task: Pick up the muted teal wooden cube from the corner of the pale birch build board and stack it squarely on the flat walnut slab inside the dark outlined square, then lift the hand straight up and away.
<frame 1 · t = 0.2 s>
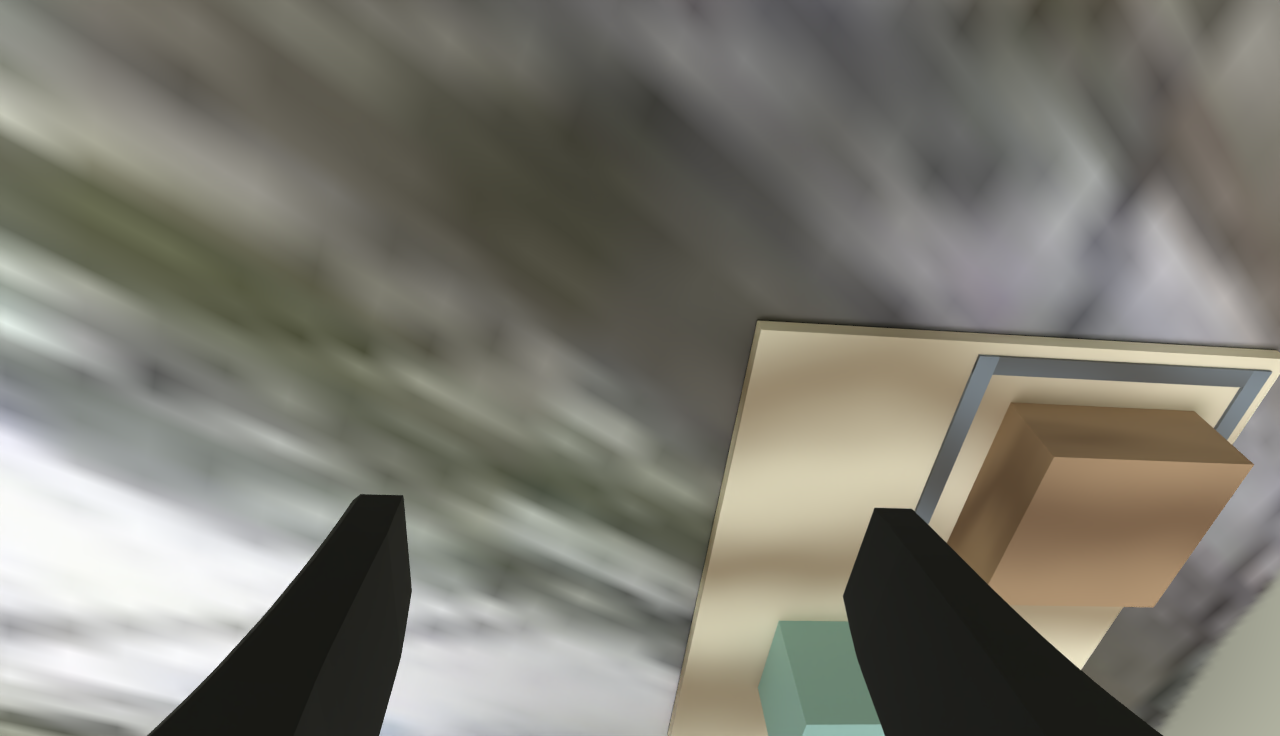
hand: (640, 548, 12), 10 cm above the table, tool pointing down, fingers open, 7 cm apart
teal block: (819, 655, 29), resting on build board
walnut slab: (1063, 481, 25), resting on build board
build board: (922, 574, 28), on the table
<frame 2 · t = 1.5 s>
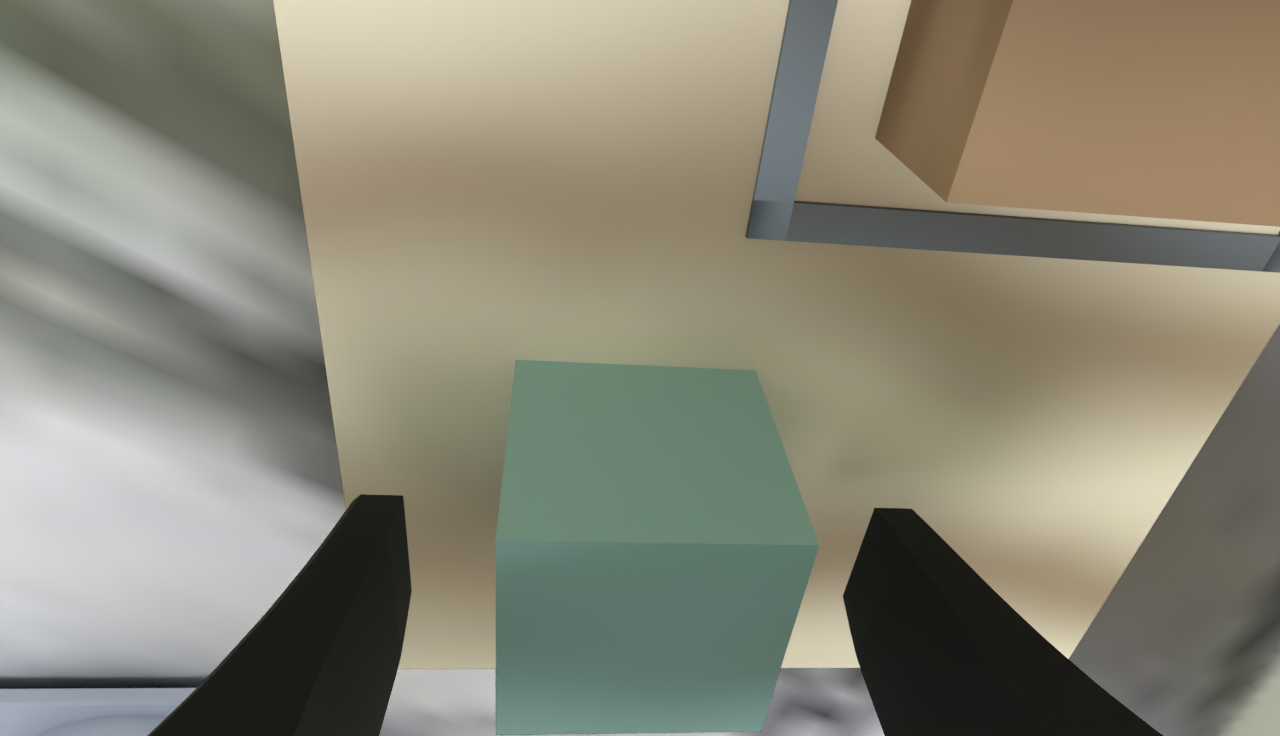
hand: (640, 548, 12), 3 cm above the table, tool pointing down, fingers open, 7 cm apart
teal block: (626, 458, 14), resting on build board
build board: (832, 252, 12), on the table
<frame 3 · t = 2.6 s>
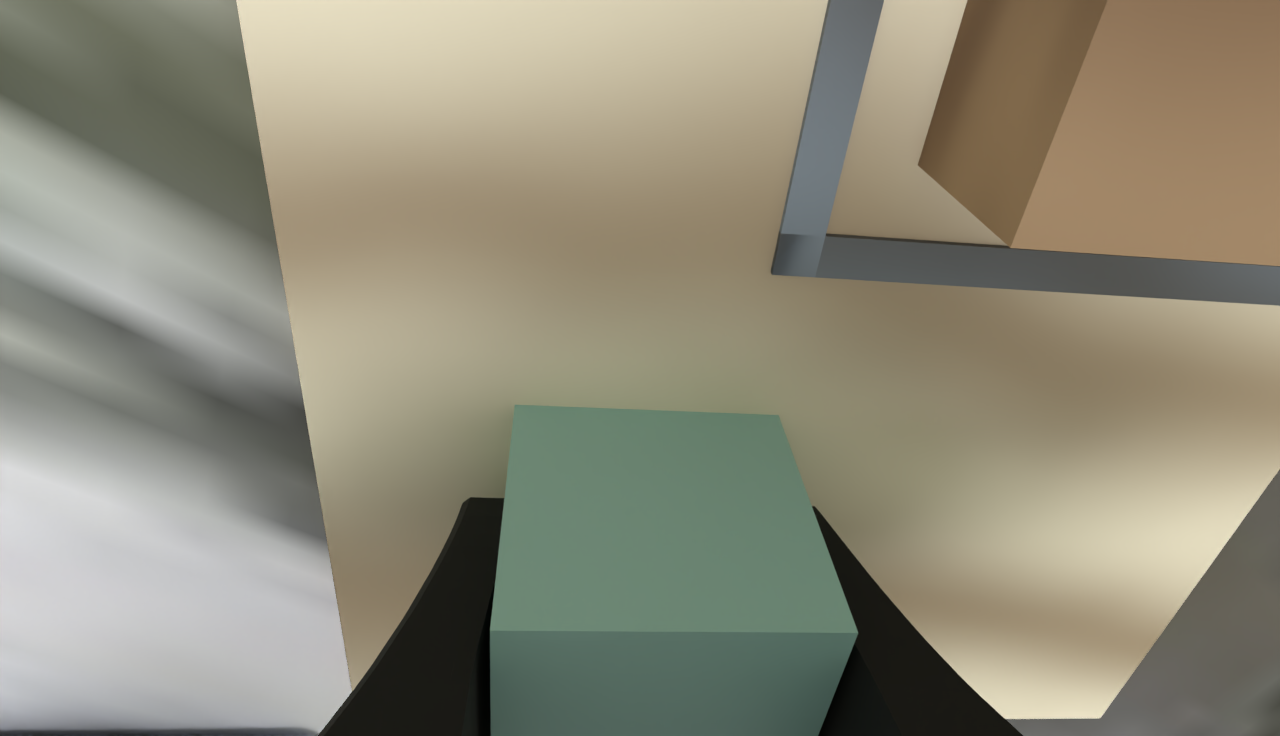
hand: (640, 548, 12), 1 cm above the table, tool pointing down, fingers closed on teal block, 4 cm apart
teal block: (636, 507, 13), resting on build board, touching gripper
build board: (864, 287, 11), on the table
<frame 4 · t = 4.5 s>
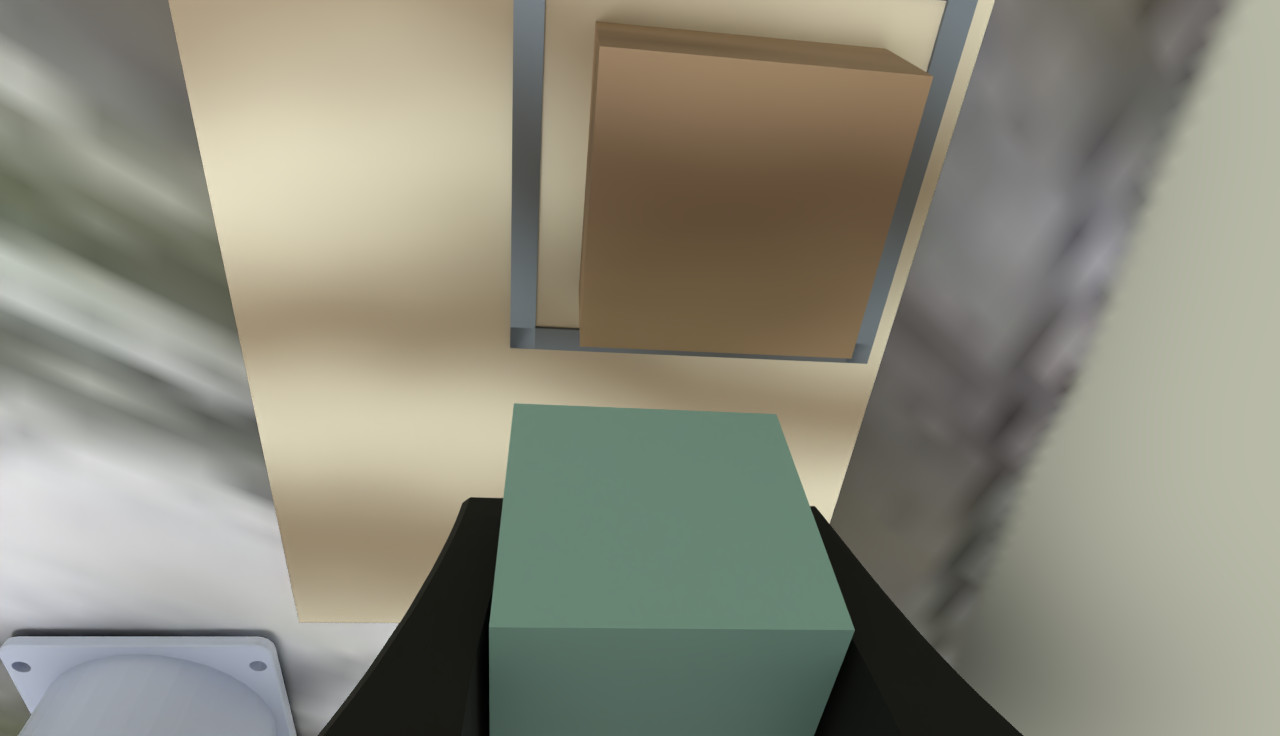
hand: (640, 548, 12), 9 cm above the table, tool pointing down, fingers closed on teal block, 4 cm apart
teal block: (634, 506, 13), point 8 cm above the table, touching gripper
walnut slab: (721, 179, 17), resting on build board
build board: (574, 351, 20), on the table
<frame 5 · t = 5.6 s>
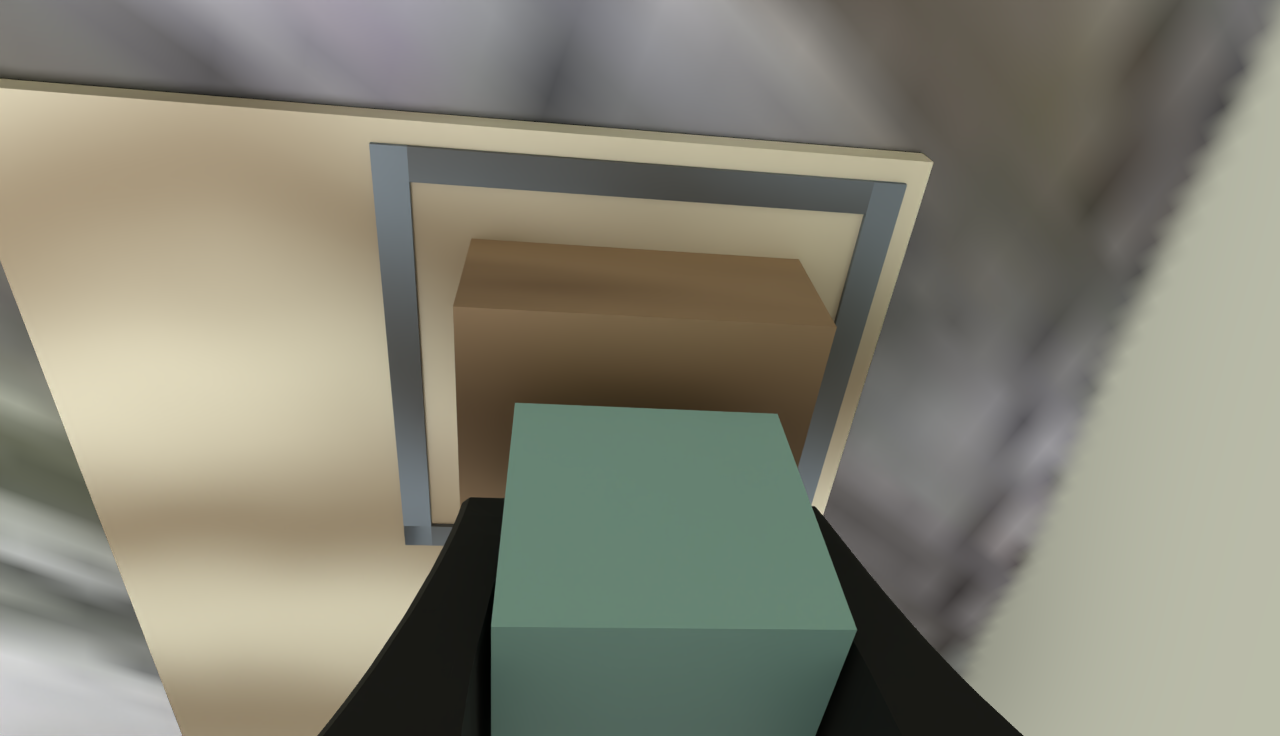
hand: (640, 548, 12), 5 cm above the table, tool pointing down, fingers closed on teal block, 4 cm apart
teal block: (635, 506, 13), point 4 cm above the table, touching gripper
walnut slab: (624, 384, 16), resting on build board
build board: (479, 539, 18), on the table
when the fingers open (5 cm above the table, at t = 6.4 s): teal block stays where it is, resting on walnut slab.
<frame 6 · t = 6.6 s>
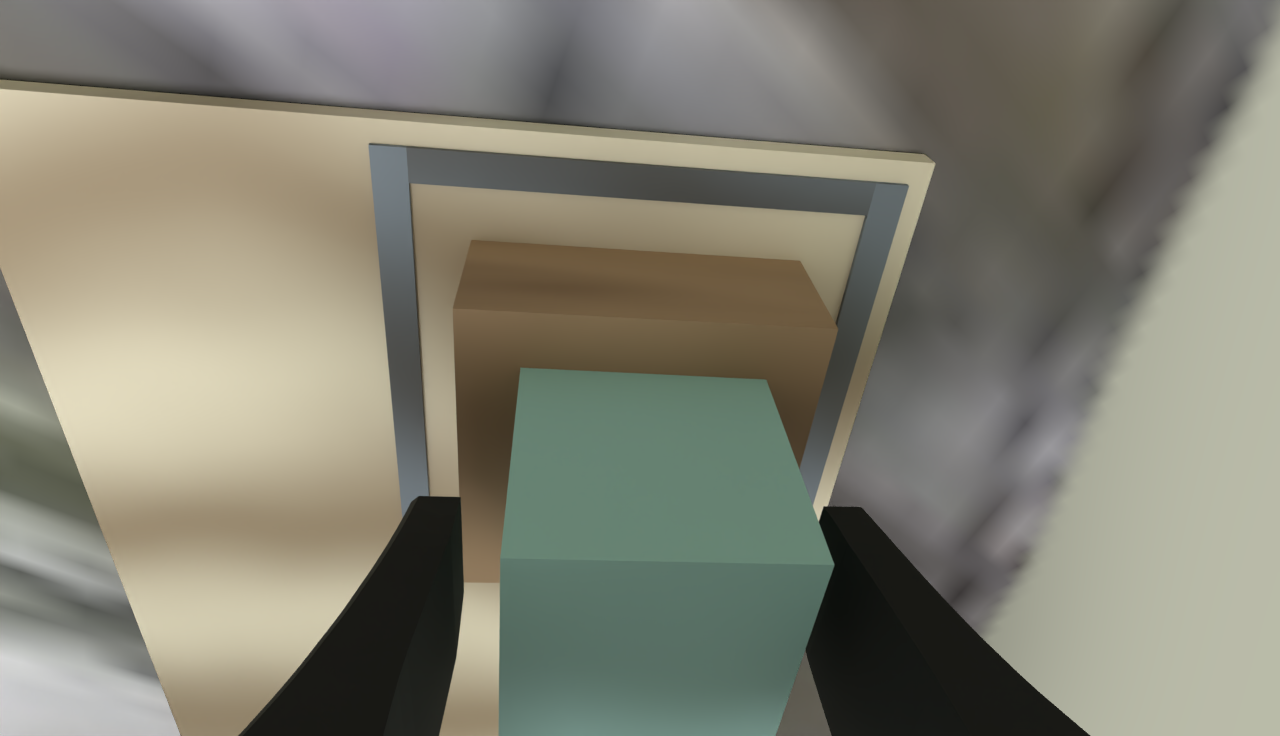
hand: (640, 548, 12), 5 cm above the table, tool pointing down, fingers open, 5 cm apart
teal block: (633, 468, 14), point 3 cm above the table, touching walnut slab
walnut slab: (624, 386, 16), resting on build board, touching teal block
build board: (479, 541, 18), on the table
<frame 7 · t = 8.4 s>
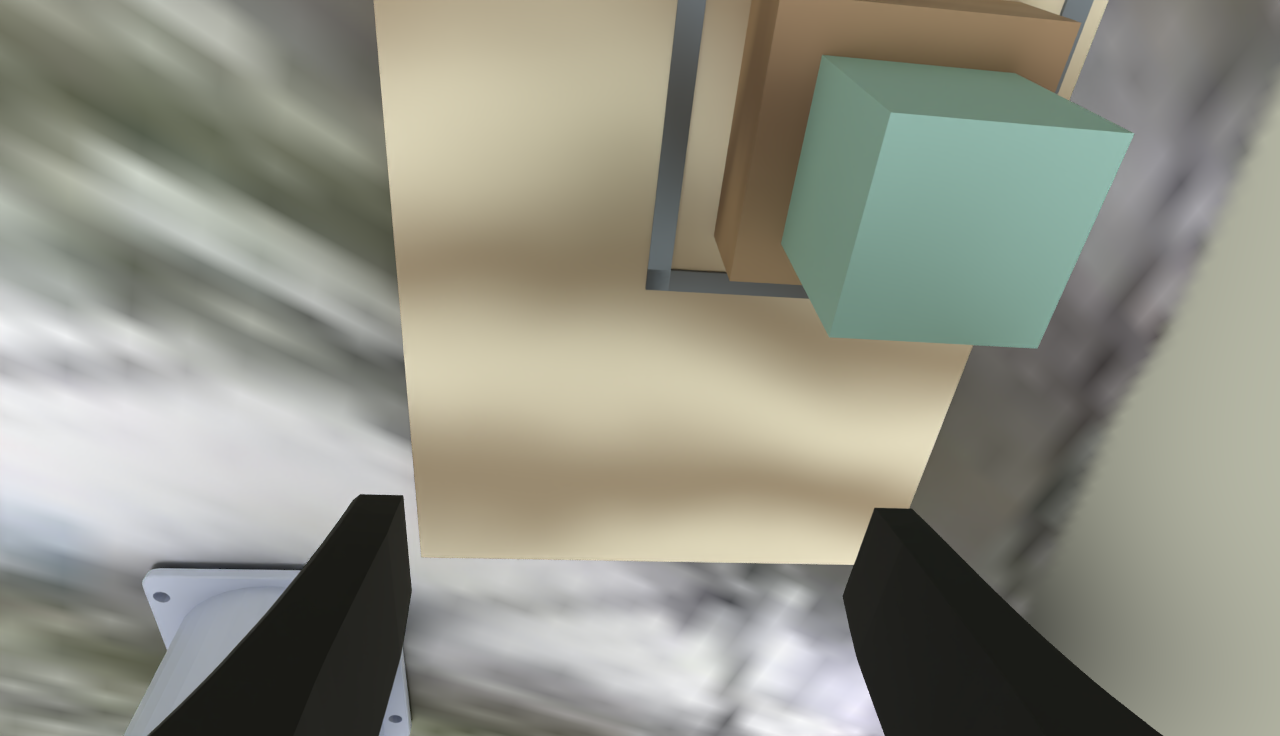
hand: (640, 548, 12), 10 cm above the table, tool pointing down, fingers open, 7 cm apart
teal block: (891, 163, 16), point 3 cm above the table, touching walnut slab
walnut slab: (856, 127, 18), resting on build board, touching teal block
build board: (700, 295, 21), on the table
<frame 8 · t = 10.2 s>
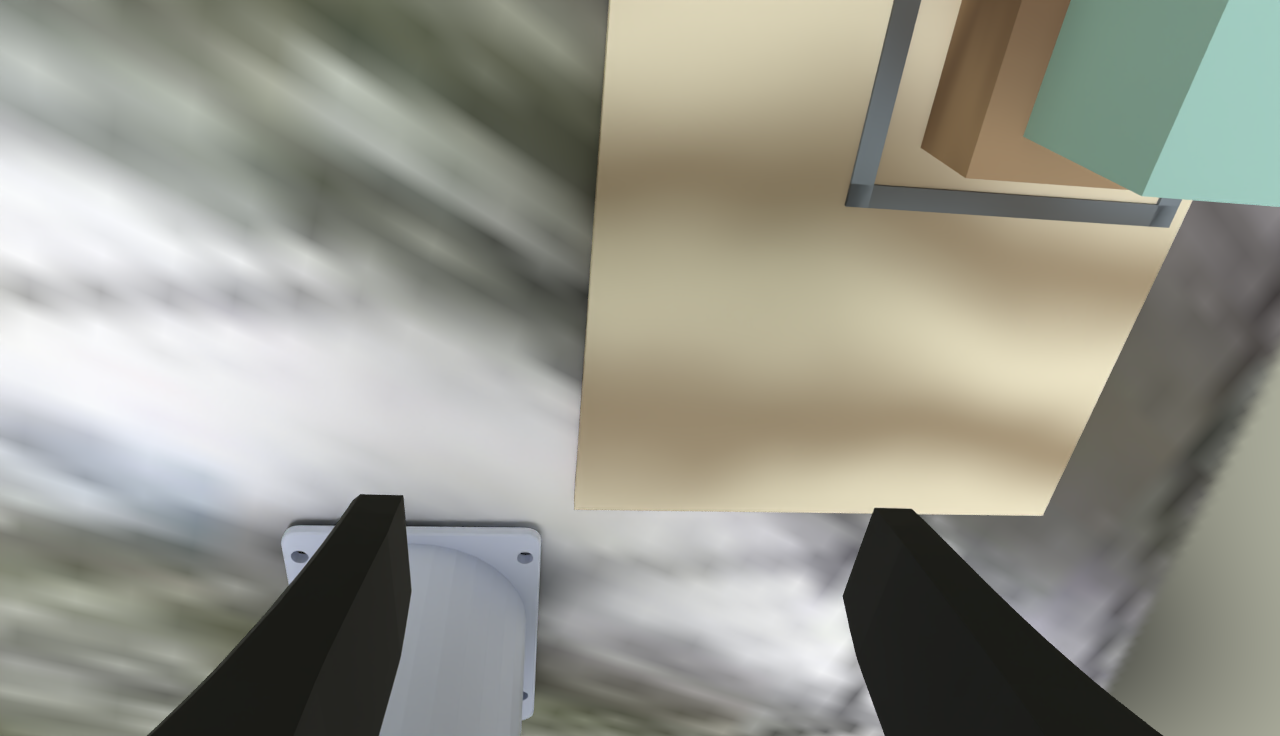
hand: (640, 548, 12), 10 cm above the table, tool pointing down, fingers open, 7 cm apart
teal block: (1145, 47, 16), point 3 cm above the table, touching walnut slab
walnut slab: (1076, 29, 18), resting on build board, touching teal block
build board: (892, 217, 21), on the table
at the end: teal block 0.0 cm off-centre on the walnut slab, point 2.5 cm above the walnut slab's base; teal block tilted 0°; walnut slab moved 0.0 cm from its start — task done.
